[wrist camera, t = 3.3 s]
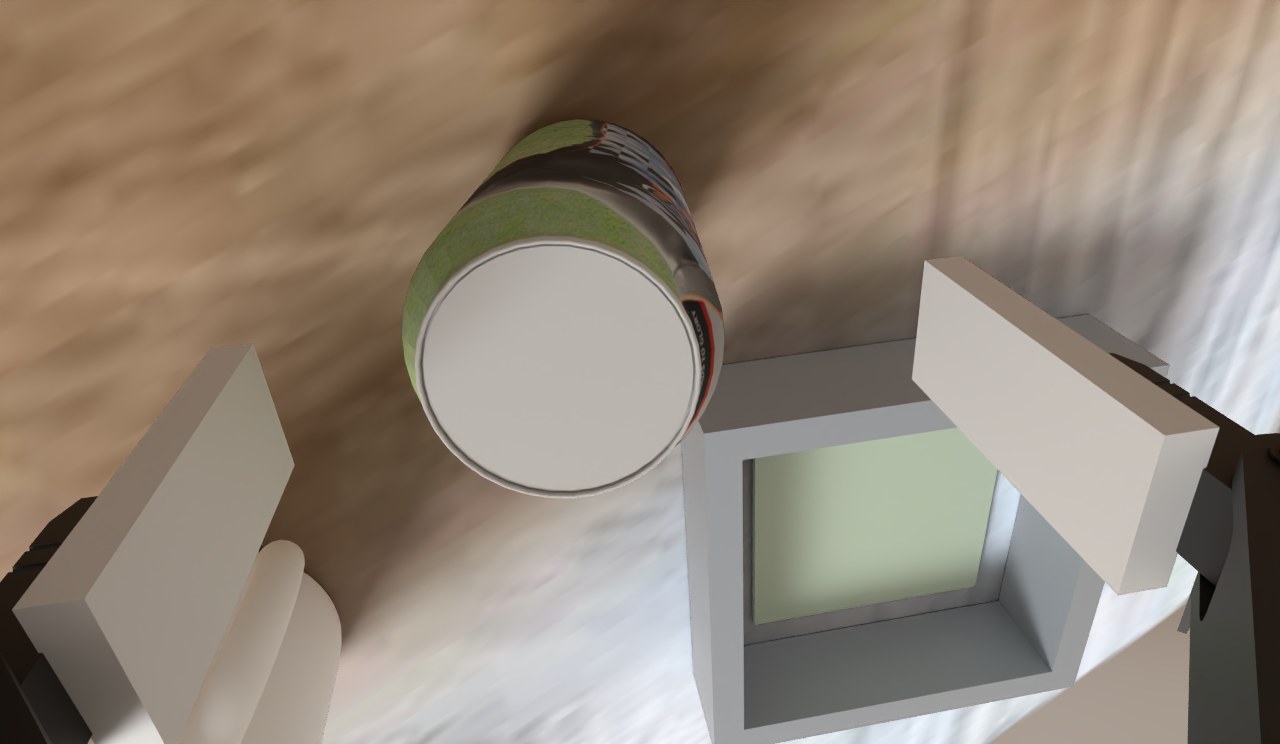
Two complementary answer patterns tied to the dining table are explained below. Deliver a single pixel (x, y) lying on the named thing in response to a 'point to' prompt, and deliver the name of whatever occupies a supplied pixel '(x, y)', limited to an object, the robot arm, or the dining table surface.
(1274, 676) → the robot arm
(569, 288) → the beverage can
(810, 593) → the corral
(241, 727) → the mug
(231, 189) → the dining table surface
